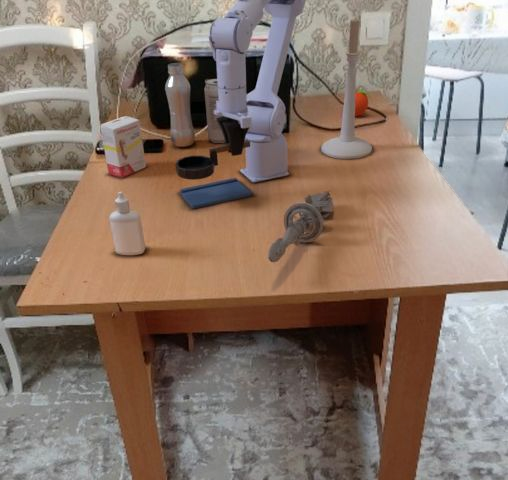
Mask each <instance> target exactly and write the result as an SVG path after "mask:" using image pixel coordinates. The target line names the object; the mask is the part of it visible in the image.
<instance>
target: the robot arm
mask: <svg viewBox="0 0 508 480" xmlns="http://www.w3.org/2000/svg"><path fill="white" fill-rule="evenodd" d="M306 1H307V0H236V2H235V3H234V4H233V5H232V6H231V8H230V9H229V11H227V12H226V14H225V15H224V16H223V17H217V18H216V19H215V20H213V21H212V22H211V25H210V28H209V35H208V42H209V46H210V48H211V50H212V56H213V57H212V58H213V60H214V61H215V62H216V63H215V64H216V79H217V82H218V99H219V100H218V101H216V109H217V110H214V114H215V115H217V116H219V115H222V116H223V117H219V118H217V122H218V124H219V126H220V128H221V130H222V133H223V135H224V139H225V142H224V144H227V143H229V145H230V151H227V152H228V153H229V154H231V156H232V157H235V156H240V155H242V154H243V150H245V167H244V168H241V169H239V171H240V173H241V174H242V175H243V176H245V177H246V178H247V179H248V180H249V181H250V182H252V183H259V182H263V181H267V180H272V179H277V178H282V177H287V176H289V175H290V173H289V172H288V165H289V164H288V159H289V157H288V155H289V154H288V153H289V152H288V151H289V150H288V142H287V140H286V137H285V135H284V134H283V133H282V132H283V130H284V126H285V115H286V109H287V108H286V106H285V103H284V102H283V100H282V99H281V98H280V97H279V96H278V92H279V89H280V84H281V81H282V76H283V72H284V68H285V64H286V61H287V56H288V54H289V53H288V52H289V48H290V44H291V40H292V36H293V32H294V28H295V23H296V20H297V17H299V16H300V15H301V14H303V11H304V8H305V5H306ZM264 12H266V13H267V14H268V15H270V16H271V18H272V19H271V24H270V26H269V31H268V35H267V40H266V44H265V48H264V52H263V56H262V61H261V64H260V67H259V73H258V77H257V81H256V85H255V88H254V89H253V90H251V91H250V92H249V93H247V67H246V66H247V65H246V52H247V51H248V50H249V47H250V44H251V39H252V37H253V34H254V32H253V31H254V30H255V29H256V27H257V26H258V25H259V24H260V23H261V21H262V19H263V17H264ZM244 140H248V141H249V142H250V147H247V148H243V145H244Z"/></svg>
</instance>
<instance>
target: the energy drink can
mask: <svg viewBox="0 0 508 480" xmlns="http://www.w3.org/2000/svg"><path fill="white" fill-rule="evenodd" d="M218 100H219V99H218V82H217V78H211V79H207V80H206V81H205V86H204V102H205V111H206V125H207V126H206V127H207V137H208V139H209V140H210V142H211V143H213V144H225V139H224V135H223V133H222V130H221V128H220V126H219V124H218V122H217V118H219V117H223V116H222V115H219V116H217V115H215V114H214V110H217V109H216V101H218Z"/></svg>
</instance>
